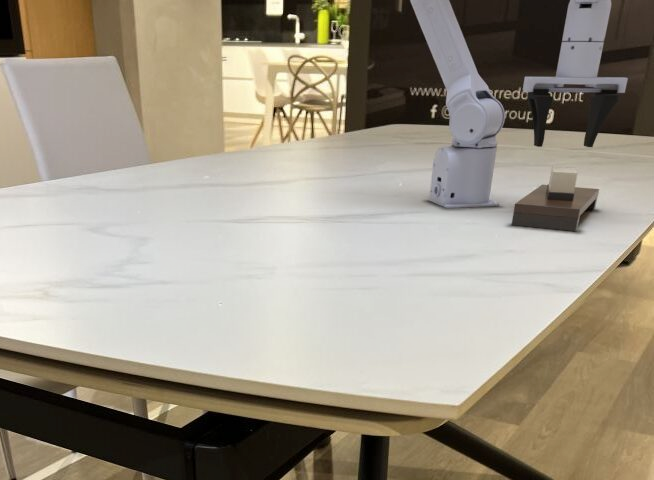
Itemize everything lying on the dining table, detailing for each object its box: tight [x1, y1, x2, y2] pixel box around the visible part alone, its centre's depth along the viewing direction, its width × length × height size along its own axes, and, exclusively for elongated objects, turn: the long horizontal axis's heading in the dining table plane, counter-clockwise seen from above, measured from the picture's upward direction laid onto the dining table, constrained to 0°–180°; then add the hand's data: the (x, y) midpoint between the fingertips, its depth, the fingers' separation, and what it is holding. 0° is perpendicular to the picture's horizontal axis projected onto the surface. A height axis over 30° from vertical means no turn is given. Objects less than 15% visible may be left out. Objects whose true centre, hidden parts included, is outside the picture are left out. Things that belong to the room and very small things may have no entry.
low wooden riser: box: [511, 184, 600, 232], centre depth 114 cm, size 20×9×3 cm, turn 152°
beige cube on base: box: [546, 166, 578, 201], centre depth 112 cm, size 8×4×4 cm, turn 164°
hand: (562, 146), depth 113 cm, fingers open, 7 cm apart
